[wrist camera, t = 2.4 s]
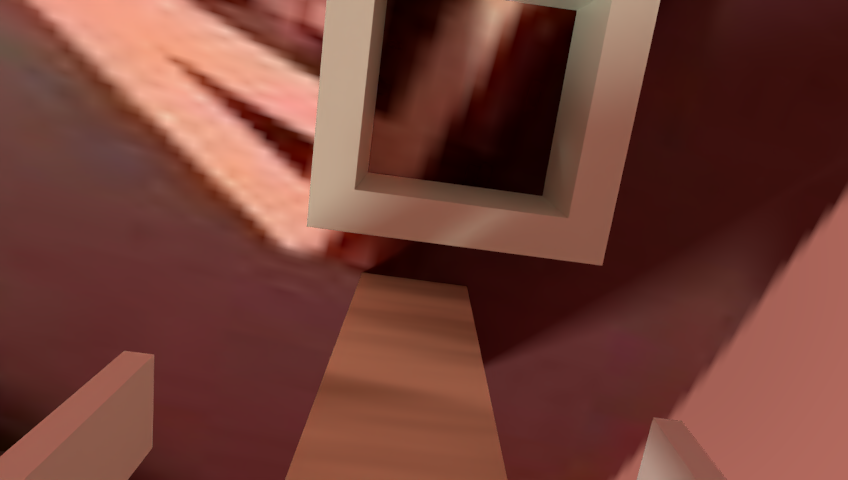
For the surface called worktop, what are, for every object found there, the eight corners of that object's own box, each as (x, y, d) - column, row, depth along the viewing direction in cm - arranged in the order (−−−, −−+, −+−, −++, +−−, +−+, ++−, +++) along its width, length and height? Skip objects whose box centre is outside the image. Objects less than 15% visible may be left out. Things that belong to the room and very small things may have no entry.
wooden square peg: (451, 381, 23) (515, 1122, 6) (351, 368, 23) (148, 1090, 6) (466, 286, 22) (588, 868, 5) (362, 272, 22) (156, 823, 5)
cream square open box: (570, 235, 21) (602, 265, 17) (328, 202, 21) (306, 226, 17) (622, -26, 19) (672, -57, 15) (354, -65, 19) (336, -107, 15)
